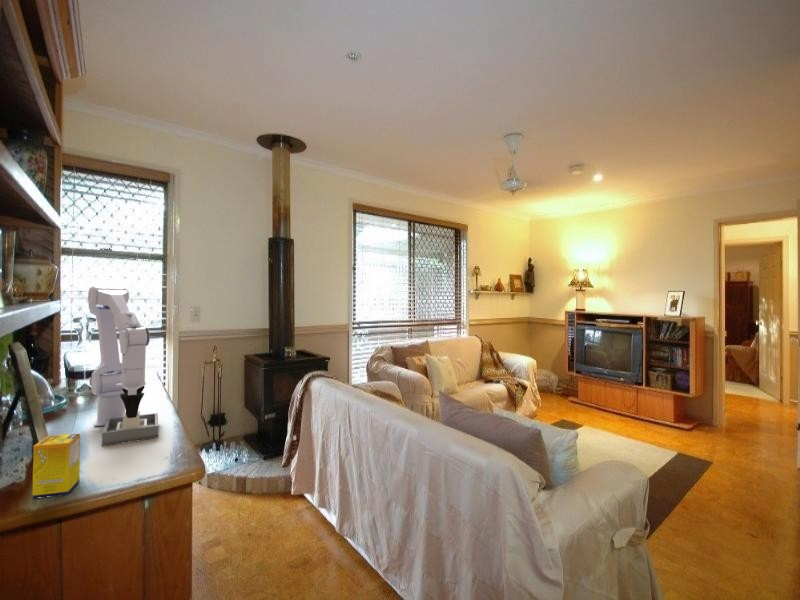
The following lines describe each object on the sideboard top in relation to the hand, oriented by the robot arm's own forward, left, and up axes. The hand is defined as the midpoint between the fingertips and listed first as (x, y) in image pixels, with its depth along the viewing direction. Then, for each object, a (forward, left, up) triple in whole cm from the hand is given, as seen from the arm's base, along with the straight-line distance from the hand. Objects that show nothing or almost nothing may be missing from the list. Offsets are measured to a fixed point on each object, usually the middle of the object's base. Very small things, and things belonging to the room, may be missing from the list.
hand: (132, 413), depth 115 cm
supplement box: (+32, -12, -6) cm, 35 cm away
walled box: (0, 0, -6) cm, 6 cm away
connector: (0, 0, -5) cm, 5 cm away
